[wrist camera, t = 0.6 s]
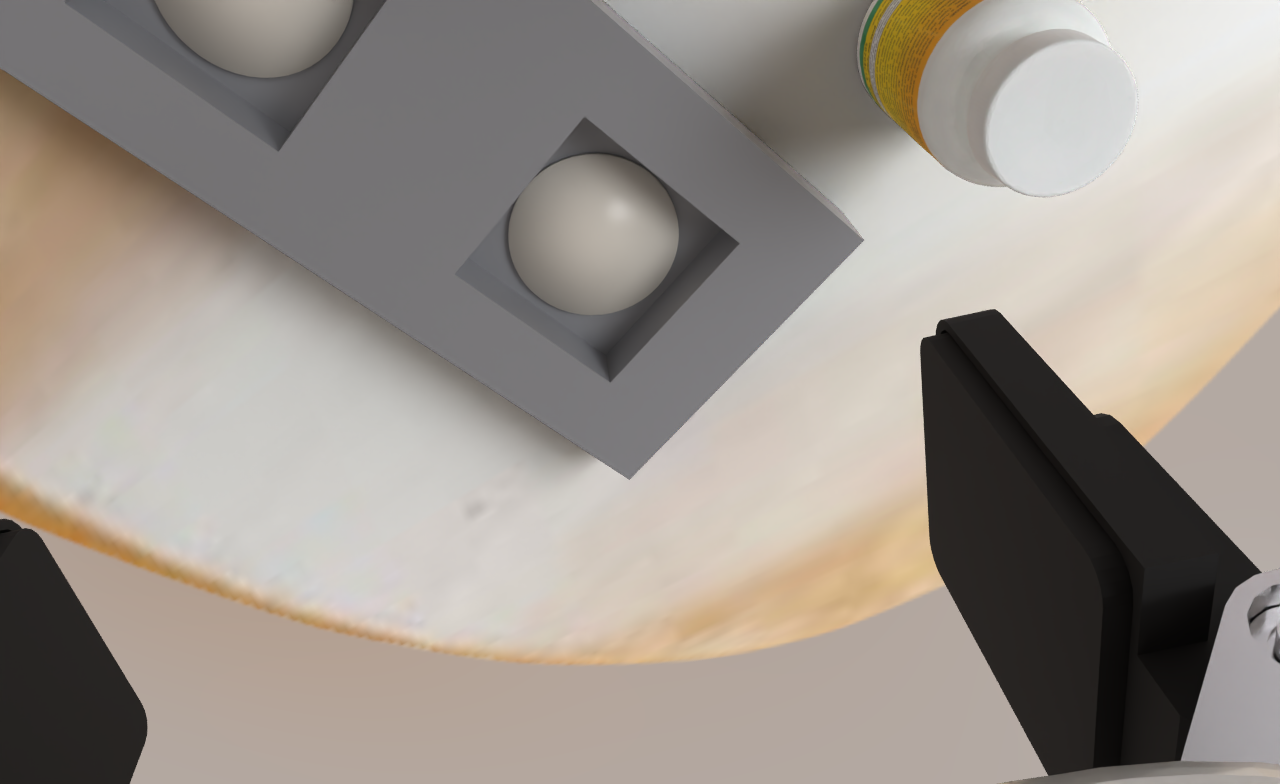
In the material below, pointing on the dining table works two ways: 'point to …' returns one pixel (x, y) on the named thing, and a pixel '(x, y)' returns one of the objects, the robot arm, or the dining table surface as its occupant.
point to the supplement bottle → (1002, 88)
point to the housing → (468, 183)
